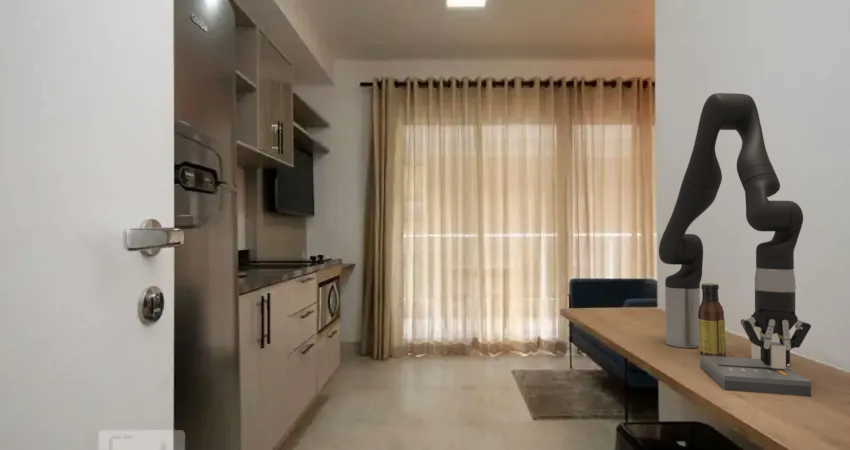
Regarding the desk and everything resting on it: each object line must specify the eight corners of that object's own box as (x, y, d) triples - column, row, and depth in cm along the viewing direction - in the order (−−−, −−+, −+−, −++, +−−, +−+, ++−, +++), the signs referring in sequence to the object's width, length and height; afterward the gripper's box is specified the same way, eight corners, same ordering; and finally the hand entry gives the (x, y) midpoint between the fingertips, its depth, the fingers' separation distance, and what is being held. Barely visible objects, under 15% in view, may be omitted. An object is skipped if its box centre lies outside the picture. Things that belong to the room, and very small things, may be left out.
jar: (797, 364, 127) (797, 317, 127) (781, 368, 123) (780, 320, 123) (759, 356, 135) (759, 312, 135) (743, 360, 131) (742, 315, 131)
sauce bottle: (719, 354, 137) (718, 282, 137) (730, 360, 131) (730, 285, 131) (694, 354, 138) (693, 282, 138) (704, 359, 131) (704, 284, 132)
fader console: (700, 367, 124) (700, 354, 124) (773, 372, 120) (773, 359, 120) (724, 389, 107) (724, 375, 107) (811, 396, 103) (811, 381, 103)
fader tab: (764, 369, 114) (764, 341, 114) (777, 370, 114) (777, 342, 114) (772, 373, 110) (772, 345, 111) (785, 374, 110) (785, 346, 110)
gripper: (802, 287, 114) (802, 363, 114) (734, 285, 118) (734, 359, 118) (819, 291, 107) (819, 372, 107) (746, 289, 110) (746, 367, 110)
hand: (774, 364), depth 112 cm, fingers closed on fader tab, 2 cm apart
